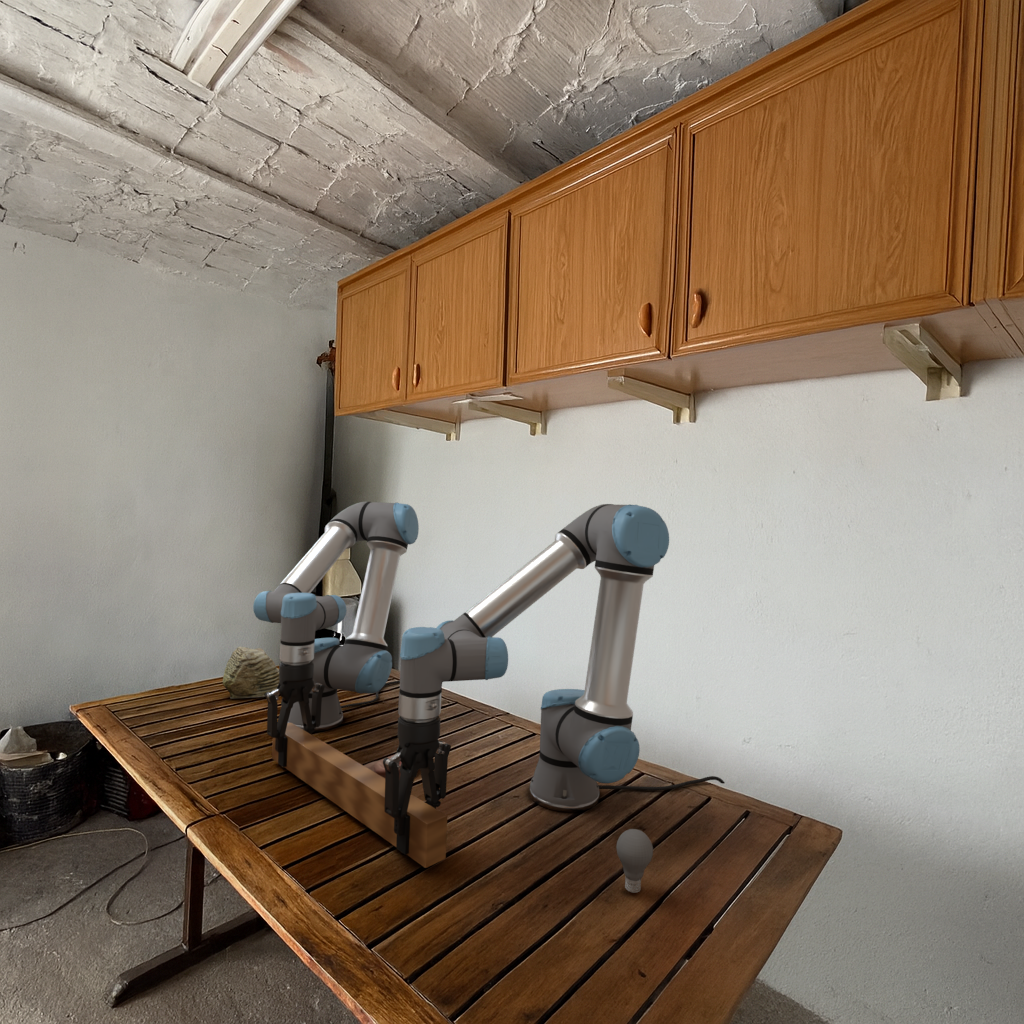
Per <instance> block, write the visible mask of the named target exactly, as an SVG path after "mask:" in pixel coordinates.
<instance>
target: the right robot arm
mask: <svg viewBox="0 0 1024 1024" xmlns="http://www.w3.org/2000/svg"><path fill="white" fill-rule="evenodd" d="M669 547H670V532H669V529H668V525H667V523H666V521H665V520H664V519H663V518H662V516H661V514H659V513H658V512H657V511H655V509H652V508H650V507H647V506H643V505H638V504H613V503H603V504H599V505H596V506H593V507H592V508H589V509H588V510H586V511H584V512H583V513H581V515H579V516H577V517H575V519H574V520H572V521H571V522H570V523H568V524H567V525H566V526H564V527H563V528H562V529H560V530H559V531H558V532H557V533H556V534H555V535H554V541H553V542H551V544H549V545H548V546H546V547H545V548H544V549H542V550H541V551H540V552H539V553H538V554H537V555H535V556H534V557H533V558H532V559H530V560H528V562H526V563H525V564H524V565H523V566H521V567H520V568H518V569H517V570H516V571H515V572H514V573H513V574H512V575H510V576H509V577H507V578H506V579H505V580H504V581H503V582H501V583H500V584H499V585H498V586H496V587H495V588H493V589H492V590H491V591H490V592H489V593H488V594H486V595H485V596H484V597H482V598H481V599H480V600H479V601H478V602H476V603H475V604H474V605H472V606H471V607H470V608H468V609H467V610H466V611H464V612H463V613H462V614H461V615H459V616H458V617H457V618H455V619H454V620H452V619H451V620H446V621H445V620H444V621H443V622H441V623H440V624H438V625H437V626H436V627H431V626H429V627H427V626H417V627H410V628H408V629H406V630H405V631H404V632H403V633H402V636H401V637H402V638H401V645H400V653H399V658H400V659H399V660H400V661H399V662H400V663H399V680H400V683H399V692H398V707H397V708H398V709H397V714H398V715H399V717H398V718H397V734H396V735H397V739H398V740H397V741H398V746H397V748H396V752H395V754H393V755H394V756H393V755H392V756H393V757H391V758H390V759H389V758H388V757H384V758H383V759H384V760H383V765H384V768H385V807H384V811H385V813H387V814H389V815H390V816H392V817H393V818H394V832H395V833H396V834H397V841H396V847H395V849H396V850H398V851H399V852H400V853H402V854H403V855H406V854H408V853H409V835H410V816H409V815H407V810H408V805H409V800H410V796H411V794H412V790H413V785H414V781H415V778H417V776H418V771H420V777H421V783H422V790H423V796H424V800H425V801H424V802H425V803H427V804H428V805H430V806H432V807H433V808H435V809H437V808H439V807H440V806H441V804H442V802H441V801H440V800H444V799H445V798H446V797H447V783H448V763H449V761H448V760H449V756H450V752H451V748H452V746H451V744H449V743H447V742H445V741H443V740H439V738H440V736H441V721H442V719H441V717H440V715H441V713H442V693H443V683H445V682H463V681H481V680H482V681H483V680H485V681H488V680H493V679H500V678H502V677H503V676H505V674H506V673H507V670H508V665H509V651H508V647H507V644H506V641H505V640H504V639H503V638H501V637H497V636H496V637H495V635H497V634H498V633H500V631H502V630H503V629H504V628H506V626H508V625H509V624H510V623H511V622H513V621H514V620H515V619H516V618H517V617H519V616H520V615H522V614H523V613H524V612H526V610H527V609H529V608H530V607H531V606H533V604H535V603H536V602H537V601H539V600H540V599H541V598H542V597H544V596H545V595H546V594H547V593H548V592H550V591H551V590H552V589H553V588H554V587H556V586H557V585H558V584H560V583H561V582H562V581H563V580H564V579H566V578H567V577H569V575H571V574H572V573H574V571H576V570H577V569H579V570H584V569H586V568H587V567H588V566H590V565H591V564H593V563H594V569H595V570H596V572H597V573H598V574H599V577H600V580H599V586H598V594H597V601H596V609H595V615H594V623H593V630H592V636H591V641H590V642H591V643H590V651H589V657H588V664H587V671H586V677H585V685H584V689H581V688H560V689H559V688H558V689H551V690H548V691H546V692H545V693H544V694H543V695H542V699H541V705H540V728H539V729H540V731H539V756H538V761H537V762H536V763H537V764H536V766H535V770H534V773H533V776H532V778H531V780H530V783H529V796H530V799H531V800H532V801H533V802H535V803H536V804H538V805H539V806H541V807H543V808H546V809H547V810H548V809H549V810H552V811H557V812H563V813H564V812H565V813H566V812H567V813H575V812H583V811H587V810H590V809H592V808H594V807H595V806H597V804H598V803H599V801H600V790H620V791H621V790H622V791H624V790H625V791H649V792H652V791H657V792H658V791H669V790H675V789H679V788H683V787H686V786H690V785H696V784H701V783H704V782H708V781H717V782H719V783H720V784H725V783H726V781H724V780H723V779H722V778H721V777H718V776H714V775H709V776H705V777H702V778H698V779H692V780H686V781H684V782H680V783H676V784H672V785H664V786H639V785H638V786H636V785H612V784H614V783H617V782H620V781H621V780H623V779H624V778H625V777H626V775H627V774H628V775H629V774H630V773H631V772H632V771H633V769H634V768H635V766H636V765H637V763H638V760H639V758H640V757H639V756H640V751H641V750H640V749H641V748H640V742H639V740H638V737H637V736H636V733H634V731H632V725H633V717H634V711H633V710H632V709H631V707H630V705H629V704H628V697H629V690H630V684H631V683H630V682H631V677H632V669H633V662H634V655H635V649H636V648H635V647H636V641H637V633H638V628H639V627H638V626H639V620H640V613H641V605H642V599H643V592H644V585H645V584H646V582H647V581H649V580H650V579H652V578H653V576H654V570H655V566H656V565H657V564H659V563H660V562H661V560H662V559H665V556H666V555H667V553H668V549H669ZM400 761H401V767H400V766H399V762H400ZM398 769H400V773H401V775H400V780H399V770H398ZM598 783H600V784H598ZM608 784H610V785H608ZM406 856H407V855H406Z"/></svg>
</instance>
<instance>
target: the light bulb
mask: <svg viewBox="0 0 1024 1024" xmlns="http://www.w3.org/2000/svg"><path fill="white" fill-rule="evenodd" d="M615 849H616V854H617V857H618V859H619V861H620V863H621V865H622V867H623V873H624V874H623V875H624V876H625V878H624V888H625V890H627V891H628V892H630V893H634V894H635V893H639V892H640V891H641V889H642V887H641V886H642V879H643V877H644V875H645V871H646V868H647V867H648V866H649V864H650V863H651V861H652V859H653V855H654V847H653V843H652V841H651V838H649V836H648V835H647V834H646V833H645V832H643V831H642V830H641V829H636V828H629V829H627V830H625V831H623V832H622V833H621V834H620V835H619V837H618V839H617V841H616V847H615Z"/></svg>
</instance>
